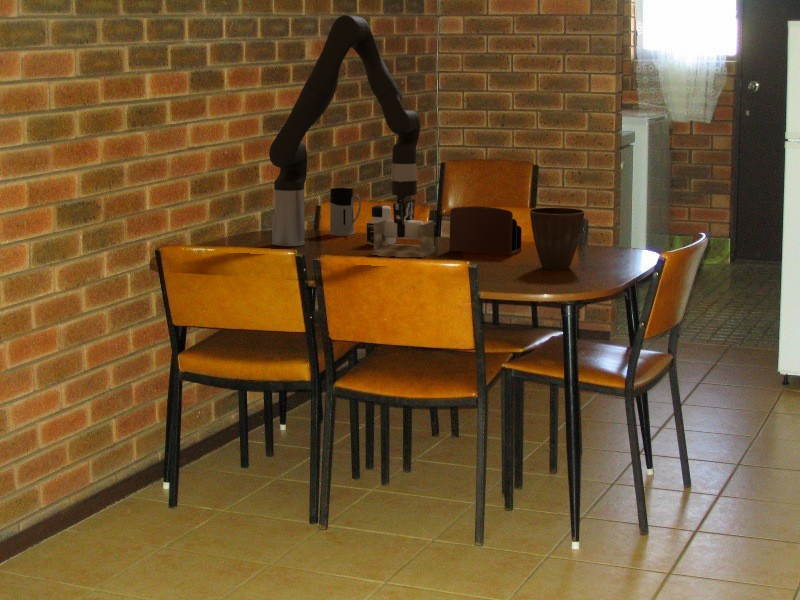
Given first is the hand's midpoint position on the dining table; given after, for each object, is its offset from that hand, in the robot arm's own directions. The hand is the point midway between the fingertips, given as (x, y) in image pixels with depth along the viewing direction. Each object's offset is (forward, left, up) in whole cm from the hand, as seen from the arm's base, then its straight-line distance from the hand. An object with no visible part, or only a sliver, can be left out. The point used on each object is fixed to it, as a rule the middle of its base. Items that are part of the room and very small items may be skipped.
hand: (404, 235), depth 359 cm
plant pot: (+48, -11, -6) cm, 49 cm away
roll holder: (0, 0, -5) cm, 5 cm away
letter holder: (+21, +13, -6) cm, 26 cm away
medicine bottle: (-13, +17, -6) cm, 22 cm away
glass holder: (-31, +33, -6) cm, 45 cm away
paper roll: (0, 0, +2) cm, 2 cm away
